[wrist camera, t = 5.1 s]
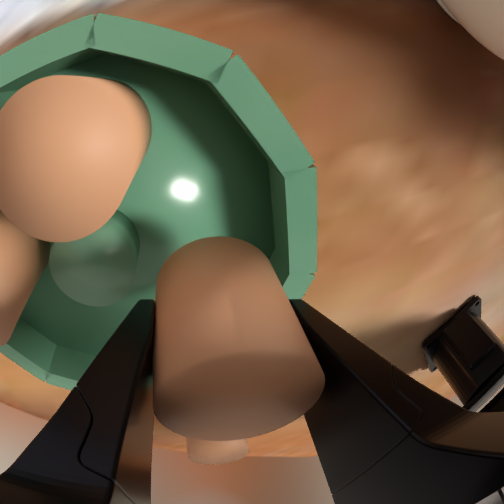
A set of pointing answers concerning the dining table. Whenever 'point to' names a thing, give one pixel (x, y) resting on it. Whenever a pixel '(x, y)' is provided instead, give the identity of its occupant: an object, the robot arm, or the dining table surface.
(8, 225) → the bead
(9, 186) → the bead
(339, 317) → the dining table surface
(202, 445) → the bead
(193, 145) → the ring tray
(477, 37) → the lidded jar
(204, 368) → the bead
